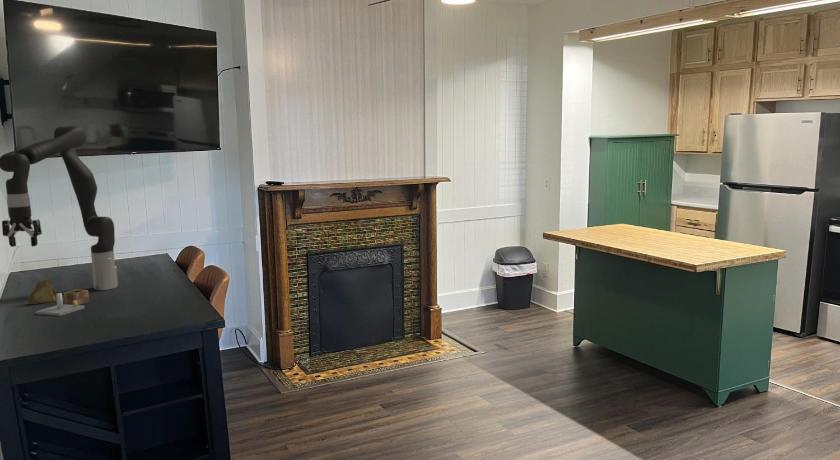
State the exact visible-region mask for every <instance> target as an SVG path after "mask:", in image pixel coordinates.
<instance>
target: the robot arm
mask: <svg viewBox="0 0 840 460" xmlns="http://www.w3.org/2000/svg"><path fill="white" fill-rule="evenodd" d="M86 142H87V133H86V131H85V129H83V128H82V127H80V126H78V125H68V126H67V125H65V126H59V127H55V129H54V132H53V138H49V139H44V140H42V141H38V142H35V143H33V144H30V145H27V146H25V147H23V148H20V149H17V150H12V151H8V152H7V153H4V154H3V155H1V156H0V169H1V170H2V171H3V172H6V173H13V174H12V177H11V178H9V179H6V181H5V188H6V204H7V212H8V218H9V219H4V220H2V221H1V228H2V231H1V232H2V236H4V237H8V243H9V246H10V247H11V248H12V247H13V248H14V247H16V246H17V241H16V234H17V233H18V232H26V234H28V235H29V236H30V245H31V247H36V246H38V236H40V235H42V227H41V226H42V225H41V221H40V219H33V220H32V208H31V207H32V206H31V200H30V199H31V198H30V195H29V186H28V181H29V174H30V169H31V165H34V164H37V163H40V162H42V161H43V160H46V159H47V158H49V157H50V158H51V157H52V156H54V155H57V154H60V155H61V158H62V160H63V163H64V165H65V169H66V170H67V171H66V172H67V174H68V176H69V179H70V182H71V186H72V188H73V191H74V193H75V196H76V200H77V202H78V206H79V210H80V214H81V218H82V223H83V227H84V230H85V232H86V234H87V235H88V236H90V237H93V238H94V237H95V238H96V237H97V242H96V243H95V244H92V245H91V246H90V255H91V266H92V279H93V289H94V290H96V291H107V290H112V289H113V290H114V289H116V288H117V287H119V282H118V270H117V269H118V268H117V265H116V264H115V252H114V248H115V247H114V246H115V244H116V243H115V240H116V239H115V223H114V221H113V219H112V218H110V217H109V216H98V213H97V211H96V207H95V201H96V197H97V193H98V186H97V183H96V179H95V176H94V174H93V172H92V171H91V169H90V168H89V167H88V166H87V164H85V163H84V162H83V160H81V159H80V157H79V156H78V154H77V152H76V150H75V149H76V148H77V149H78V148H80V147H82V146H84V145H85V143H86ZM10 226H11V227H10Z"/></svg>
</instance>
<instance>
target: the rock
mask: <svg viewBox="0 0 840 460" xmlns="http://www.w3.org/2000/svg"><path fill="white" fill-rule="evenodd" d="M56 294H58V293H57V290H56V289H55V287H54V284H53V283H52V281H51V279H43V280H42V281H39V282H38V283H37V284H36V286H35V287H34V289H33V290H32V292H31V293H30V294H29V297H28V302H27V303H28V305H38V304H39V305H40V304H45V303H46V304H47V303H53V302H57V299H56Z"/></svg>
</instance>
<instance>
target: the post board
mask: <svg viewBox="0 0 840 460" xmlns="http://www.w3.org/2000/svg"><path fill="white" fill-rule="evenodd" d="M56 299H57V300H56V304H55V305H53V306H49V307H46V308H42V309H39V310H36V311H35V314H36V315H45V316H57V317H61V316H64V315H67V314H71V313H73V312H76V311H80V310H84V309H85V305H82V304H80V305H77V301H76V300H74V301H73V305H68V304H65V303H63V302H64V299H63V293H62V292H59V293H57V294H56Z"/></svg>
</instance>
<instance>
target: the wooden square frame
mask: <svg viewBox="0 0 840 460" xmlns="http://www.w3.org/2000/svg"><path fill="white" fill-rule="evenodd" d="M89 295H90V294H89V290H88V289H77V288H76V289H72V290H69V291H65V292H63V302H64V303H63V304H68V305H73V301H74V300H76V301H77V305H83V304H87V303H89V302H90V296H89Z"/></svg>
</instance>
